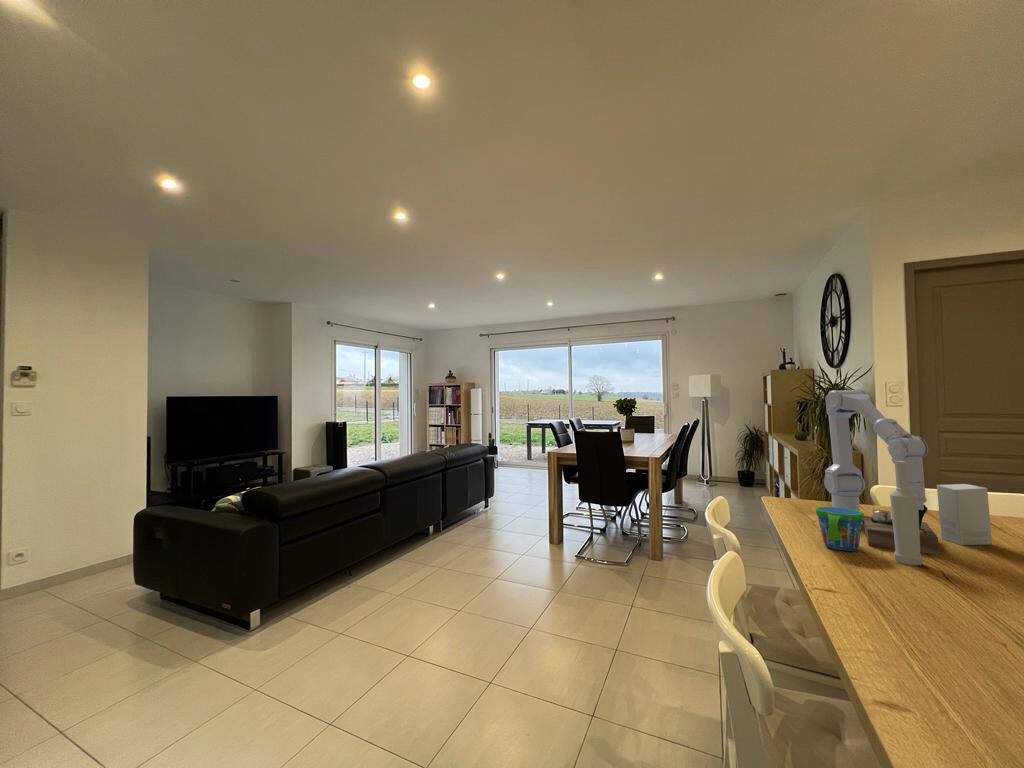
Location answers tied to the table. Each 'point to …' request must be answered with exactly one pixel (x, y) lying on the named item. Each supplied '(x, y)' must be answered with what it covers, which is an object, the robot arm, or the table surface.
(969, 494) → the skincare box
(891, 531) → the walnut block
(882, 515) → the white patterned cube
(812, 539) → the table surface
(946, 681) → the table surface
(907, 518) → the bottle
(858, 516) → the snack cup
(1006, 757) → the table surface
